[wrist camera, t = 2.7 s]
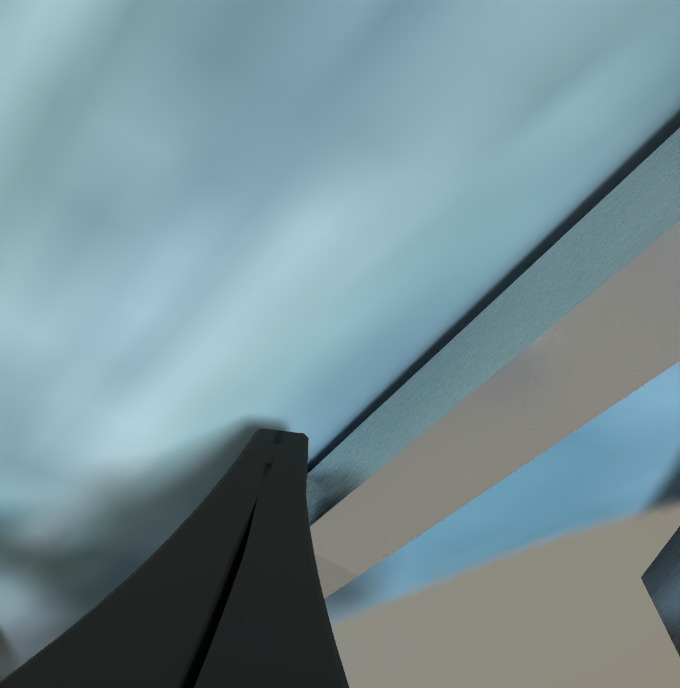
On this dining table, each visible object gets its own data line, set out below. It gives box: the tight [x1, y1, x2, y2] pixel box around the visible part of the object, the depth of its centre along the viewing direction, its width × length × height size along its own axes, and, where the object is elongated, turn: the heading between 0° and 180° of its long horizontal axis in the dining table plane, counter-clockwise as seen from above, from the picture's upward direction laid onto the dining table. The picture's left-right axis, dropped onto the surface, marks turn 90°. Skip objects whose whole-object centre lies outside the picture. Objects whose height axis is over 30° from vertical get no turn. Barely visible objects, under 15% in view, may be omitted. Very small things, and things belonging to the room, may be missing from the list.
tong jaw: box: [306, 128, 680, 599], centre depth 9 cm, size 16×3×2 cm, turn 144°
